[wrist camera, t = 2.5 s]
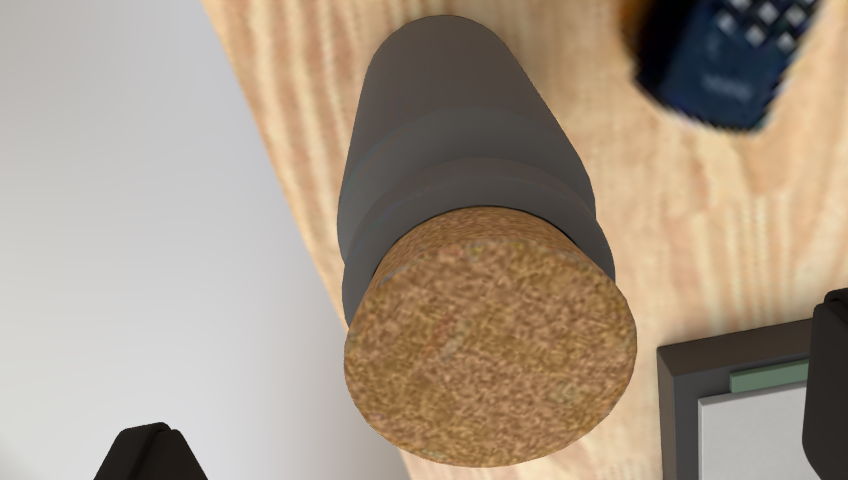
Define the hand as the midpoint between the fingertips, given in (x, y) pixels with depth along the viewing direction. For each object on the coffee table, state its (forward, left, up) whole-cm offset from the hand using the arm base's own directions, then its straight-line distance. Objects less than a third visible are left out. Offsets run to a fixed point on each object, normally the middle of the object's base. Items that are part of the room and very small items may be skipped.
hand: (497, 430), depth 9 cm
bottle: (0, 0, -16) cm, 16 cm away
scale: (+19, +13, -16) cm, 28 cm away
